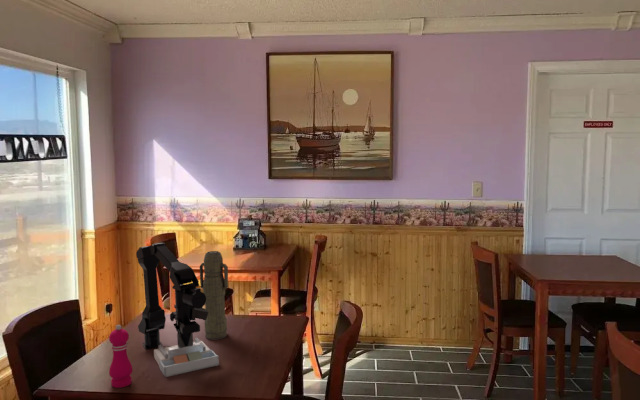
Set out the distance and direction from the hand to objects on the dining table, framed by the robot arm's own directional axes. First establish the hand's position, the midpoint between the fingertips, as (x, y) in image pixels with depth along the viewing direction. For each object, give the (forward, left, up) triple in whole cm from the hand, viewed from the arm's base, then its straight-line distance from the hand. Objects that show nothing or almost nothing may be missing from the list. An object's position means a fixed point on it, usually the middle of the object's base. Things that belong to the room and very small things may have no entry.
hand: (185, 344), depth 191 cm
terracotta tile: (+3, -2, -5) cm, 6 cm away
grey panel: (0, 0, -4) cm, 4 cm away
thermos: (-21, +18, -7) cm, 29 cm away
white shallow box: (-6, 0, -7) cm, 9 cm away
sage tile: (+3, +3, -5) cm, 6 cm away
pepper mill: (+6, -23, -7) cm, 25 cm away
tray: (+4, 0, -7) cm, 8 cm away
